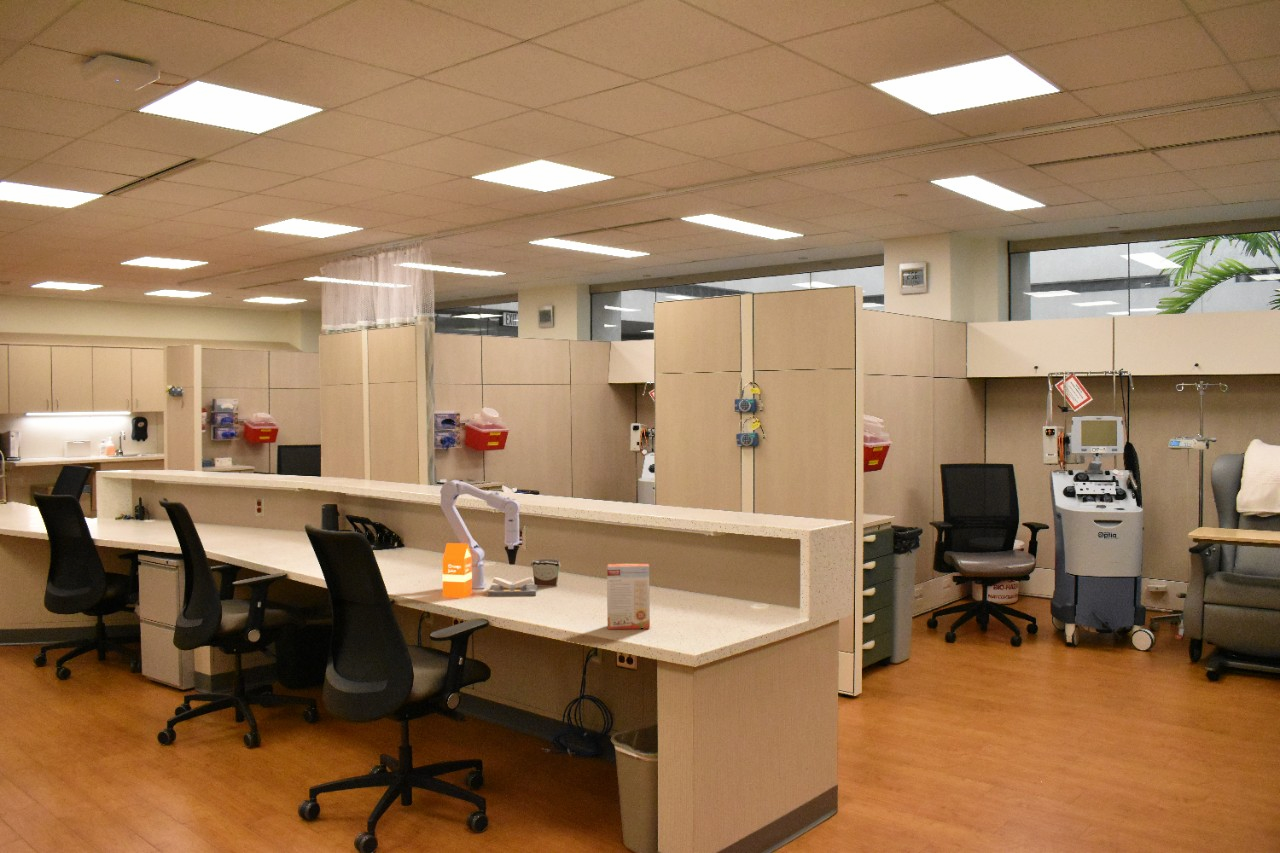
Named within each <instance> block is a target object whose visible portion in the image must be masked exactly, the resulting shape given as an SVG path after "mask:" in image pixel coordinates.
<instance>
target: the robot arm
mask: <svg viewBox="0 0 1280 853" xmlns="http://www.w3.org/2000/svg"><path fill="white" fill-rule="evenodd" d="M439 493H440V509H441V510H442V512H443V514H444V516H445V518H446V519H447V522H448V524H449V525H450V527H451V529H452V531H453V532H454V535H455V536H456V538H457V540H458V541H459V543H461V544H468V546H469V550H470V553H471V558H472V590H475V589H476V590H477V589H479V590H481V589H482V590H483V589H485V587H486V585H487V584H486V583H485V563H484V561H483V560H484V559H485V556H486V553H485V550H484V548H482V547H481V546H480V545H479V543H478V542H477V541H476V540H475V539H474V538H473V537H472V534H471V532H470V531H469V529H468V527H467V525H466V524H465V522H464V520H463V518H462V516H461V515H460V513H459V511H458V509H457V507H456V505H455V504H456V503H457V499H458V497H459V496H462V495H469V496H471V497H475V498H478V499H480V500H483V501H485V503H486V504H487V506H488V507H491V508H494V509H496V510H498V511H500V512H503V513H504V542H503V543H504V544H505V545H506V546H504V550H505V552H506V555H507V561H508V564H509V565H511V566H512V565H515V564H516V561H517V553H518V550H519V549H520V545H519V544H523V540H520V510H521V504H520V502H519V501H518V500H516V499H515V498H512V499H511V497H510V496H508V497H506V496H504V495H502V494H500V492H498V491H495V492H494V491H493V492H490V493H489V492H487V491H485V490H482V489H481V488H478V487H476V486H475V485H472V484H470V483H468V482H465V481H461V480H459V479H452V480H450V481H449V480H448V481H446V482H444V483H443V484H442V487H441V488H440V492H439Z"/></svg>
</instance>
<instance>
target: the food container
mask: <svg viewBox="0 0 1280 853" xmlns="http://www.w3.org/2000/svg"><path fill="white" fill-rule="evenodd" d="M530 566H531V567H532V574H533V575H532V577H533V583H534V584H533V585H537V587H538V586H539V587H540V586H541V587H558V578H559V571H560V568H561V562H560V560H558V559H555V558H554V559H553V558H540V559H539V558H538V559H532V560H531V564H530Z"/></svg>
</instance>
